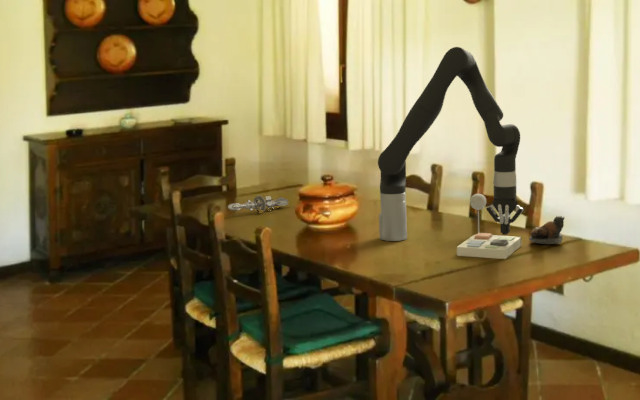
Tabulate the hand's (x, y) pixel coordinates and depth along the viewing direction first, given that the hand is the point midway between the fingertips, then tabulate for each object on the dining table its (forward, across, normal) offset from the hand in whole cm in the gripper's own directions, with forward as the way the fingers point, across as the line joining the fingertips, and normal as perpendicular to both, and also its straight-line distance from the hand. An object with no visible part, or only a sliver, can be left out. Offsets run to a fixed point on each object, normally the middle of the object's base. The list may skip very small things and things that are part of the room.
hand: (505, 234), depth 305 cm
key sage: (+4, 0, 0) cm, 4 cm away
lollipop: (+5, +15, -17) cm, 23 cm away
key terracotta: (+3, +8, 0) cm, 8 cm away
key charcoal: (+3, 0, +8) cm, 8 cm away
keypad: (+5, +4, +5) cm, 8 cm away
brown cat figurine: (+5, -12, -9) cm, 16 cm away
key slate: (+4, +8, +8) cm, 12 cm away
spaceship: (+6, +117, -31) cm, 121 cm away
